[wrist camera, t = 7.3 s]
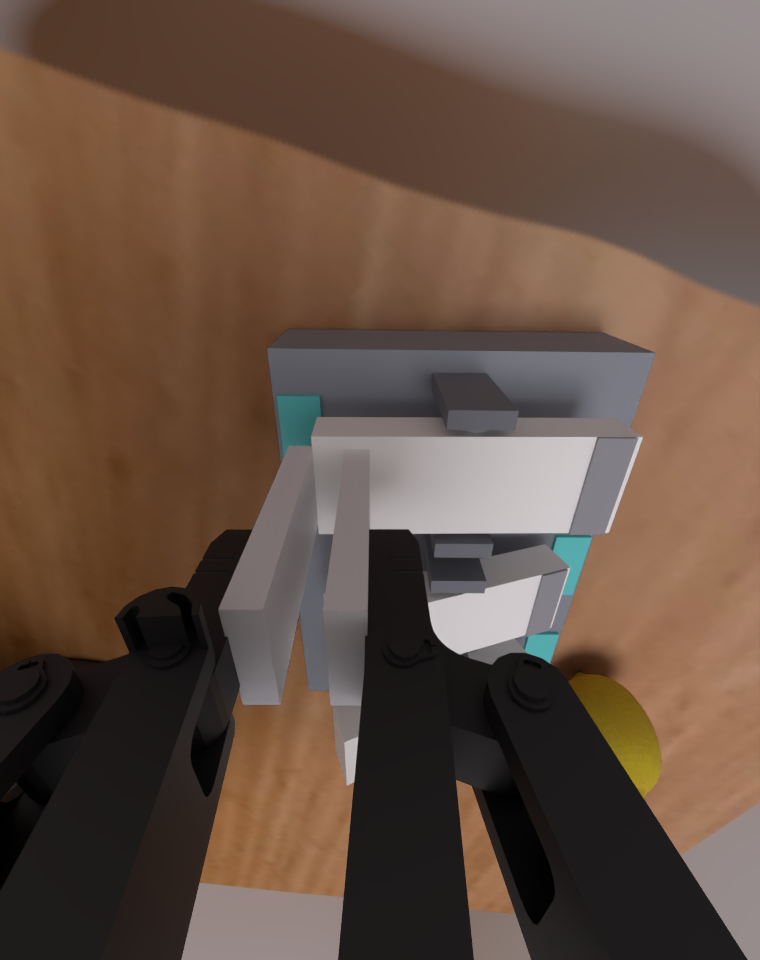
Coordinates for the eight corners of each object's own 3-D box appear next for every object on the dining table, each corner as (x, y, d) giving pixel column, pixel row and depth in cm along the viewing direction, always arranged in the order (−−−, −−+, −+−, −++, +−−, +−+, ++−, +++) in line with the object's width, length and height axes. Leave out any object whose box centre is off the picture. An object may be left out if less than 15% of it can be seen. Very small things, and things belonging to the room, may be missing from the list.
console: (317, 635, 28) (297, 763, 21) (288, 328, 18) (232, 380, 11) (521, 636, 28) (567, 764, 21) (602, 332, 18) (741, 385, 11)
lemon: (528, 667, 30) (573, 795, 23) (602, 638, 28) (675, 765, 21) (557, 705, 32) (607, 831, 25) (627, 679, 31) (701, 807, 24)
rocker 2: (328, 659, 17) (337, 696, 16) (323, 590, 15) (332, 624, 14) (529, 605, 20) (551, 632, 19) (546, 540, 18) (573, 565, 17)
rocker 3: (336, 753, 20) (347, 790, 19) (332, 705, 18) (345, 742, 17) (501, 680, 24) (520, 706, 22) (512, 633, 22) (535, 658, 20)
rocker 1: (323, 512, 15) (318, 540, 14) (316, 411, 13) (310, 431, 12) (585, 511, 16) (608, 539, 14) (617, 412, 14) (647, 432, 12)
